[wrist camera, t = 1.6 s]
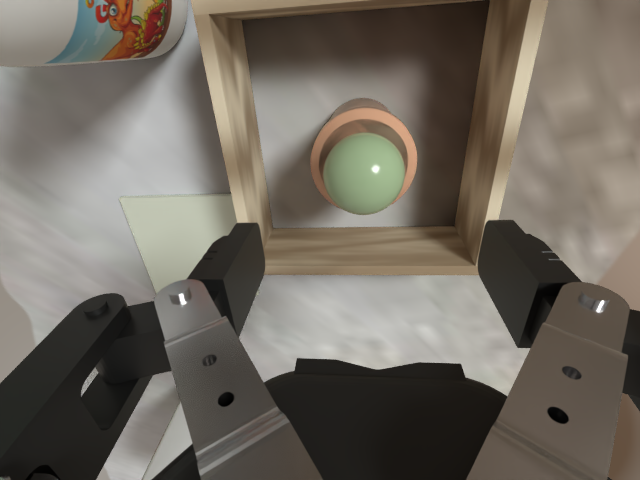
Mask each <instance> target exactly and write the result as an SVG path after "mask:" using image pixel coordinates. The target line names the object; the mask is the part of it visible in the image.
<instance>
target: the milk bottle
mask: <svg viewBox="0 0 640 480" xmlns="http://www.w3.org/2000/svg"><path fill="white" fill-rule="evenodd" d="M187 12H188V1H187V0H0V66H5V67H37V66H59V65H74V64H89V63H102V62H114V61H126V60H138V59H147V58H153V57H157V56H160V55H162V54H164V53H166V52H167V51H169V50H170V49H171V48H172V47H173V46H174V45H175V44H176V43H177V42H178V40H179V39H180V37H181V35H182V33H183V30H184V27H185V24H186V19H187Z"/></svg>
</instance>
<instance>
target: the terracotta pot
mask: <svg viewBox="0 0 640 480" xmlns="http://www.w3.org/2000/svg"><path fill="white" fill-rule="evenodd" d="M310 163H311V173H312V177H313V180H314V183H315V185H316V187H317V188H318V190H319V192H320V193H321V194H322V195H323V196H324V197H325V198H326V199H327V200H328V201H329V202H330V203H332V204H333V205H335V206H336V207H338V208H341V209H343V210H345V211H347V212H349V213H353V214H358V215H368V214H374V213H377V212H379V211H381V210H383V209H385V208H387V207H388V206H390V205H391V204H393V203H394V202H396V201H397V200H398V199H399V198H400V197H401V196H402V195H403V194H404V193H405V192H406V191H407V189H408V188H409V186H410V185H411V183H412V180H413V178H414V176H415V172H416V167H417V151H416V147H415V143H414V141H413V138H412V136H411V134H410V133H409V131H408V129H407V128H406V126H405V125H404V124H403V123H402V122H401V121H400V120H399V119H398V118H397V117H396V116H394V115H393V114H391V112H390V111H389V110H388V109H387V108H386V107H385V106H384V105H383V104H381V103H380V102H378V101H376V100H373V99H368V98H357V99H353V100H350V101H348V102H346V103H344V104H342V105H341V106H340V107H339V108H338V109H337V110H336V111H335V112H334V113H333V114H332V116H331V118H330V120H329V121H328V122H327V123H326V124H325V125H324V127H323V128H322V129H321V131H320V132H319V134H318V136H317V138H316V141H315V143H314V146H313V149H312V153H311V160H310Z"/></svg>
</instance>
